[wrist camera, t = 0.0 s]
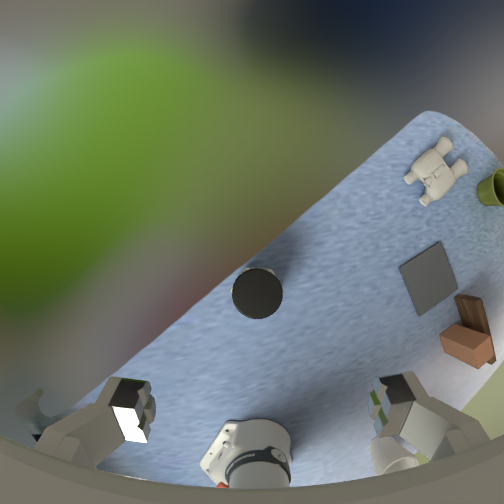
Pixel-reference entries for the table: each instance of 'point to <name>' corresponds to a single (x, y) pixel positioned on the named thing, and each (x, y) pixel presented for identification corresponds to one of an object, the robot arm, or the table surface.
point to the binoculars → (436, 171)
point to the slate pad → (428, 278)
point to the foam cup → (390, 456)
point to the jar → (257, 292)
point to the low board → (473, 316)
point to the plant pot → (492, 189)
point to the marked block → (467, 345)
